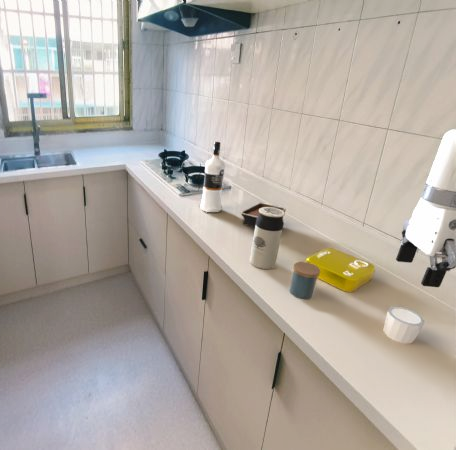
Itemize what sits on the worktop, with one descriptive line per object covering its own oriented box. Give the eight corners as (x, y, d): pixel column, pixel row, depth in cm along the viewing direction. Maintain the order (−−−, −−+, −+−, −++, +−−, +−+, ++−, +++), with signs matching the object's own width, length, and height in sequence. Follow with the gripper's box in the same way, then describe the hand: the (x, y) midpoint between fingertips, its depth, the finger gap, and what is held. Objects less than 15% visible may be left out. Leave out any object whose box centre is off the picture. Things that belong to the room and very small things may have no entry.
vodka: (210, 204, 157) (217, 139, 145) (225, 211, 150) (233, 142, 138) (195, 208, 152) (201, 140, 140) (210, 215, 145) (217, 144, 133)
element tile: (326, 257, 113) (329, 245, 111) (373, 278, 102) (378, 264, 100) (301, 270, 105) (304, 257, 103) (349, 294, 94) (354, 279, 92)
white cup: (374, 338, 78) (383, 313, 75) (384, 325, 82) (393, 302, 80) (409, 355, 73) (420, 330, 71) (417, 341, 78) (428, 316, 75)
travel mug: (264, 255, 113) (273, 205, 106) (280, 267, 107) (291, 214, 99) (244, 259, 110) (252, 208, 103) (260, 271, 104) (270, 217, 96)
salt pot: (309, 287, 97) (315, 262, 94) (316, 301, 91) (323, 275, 88) (285, 285, 97) (291, 260, 94) (291, 298, 91) (297, 273, 88)
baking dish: (234, 230, 136) (236, 208, 131) (259, 213, 146) (262, 193, 141) (265, 245, 127) (269, 222, 122) (290, 226, 137) (294, 205, 132)
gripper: (504, 214, 56) (463, 299, 63) (439, 184, 72) (412, 255, 79) (455, 211, 57) (420, 295, 64) (401, 182, 73) (378, 252, 80)
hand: (415, 272), depth 71 cm, fingers open, 9 cm apart
